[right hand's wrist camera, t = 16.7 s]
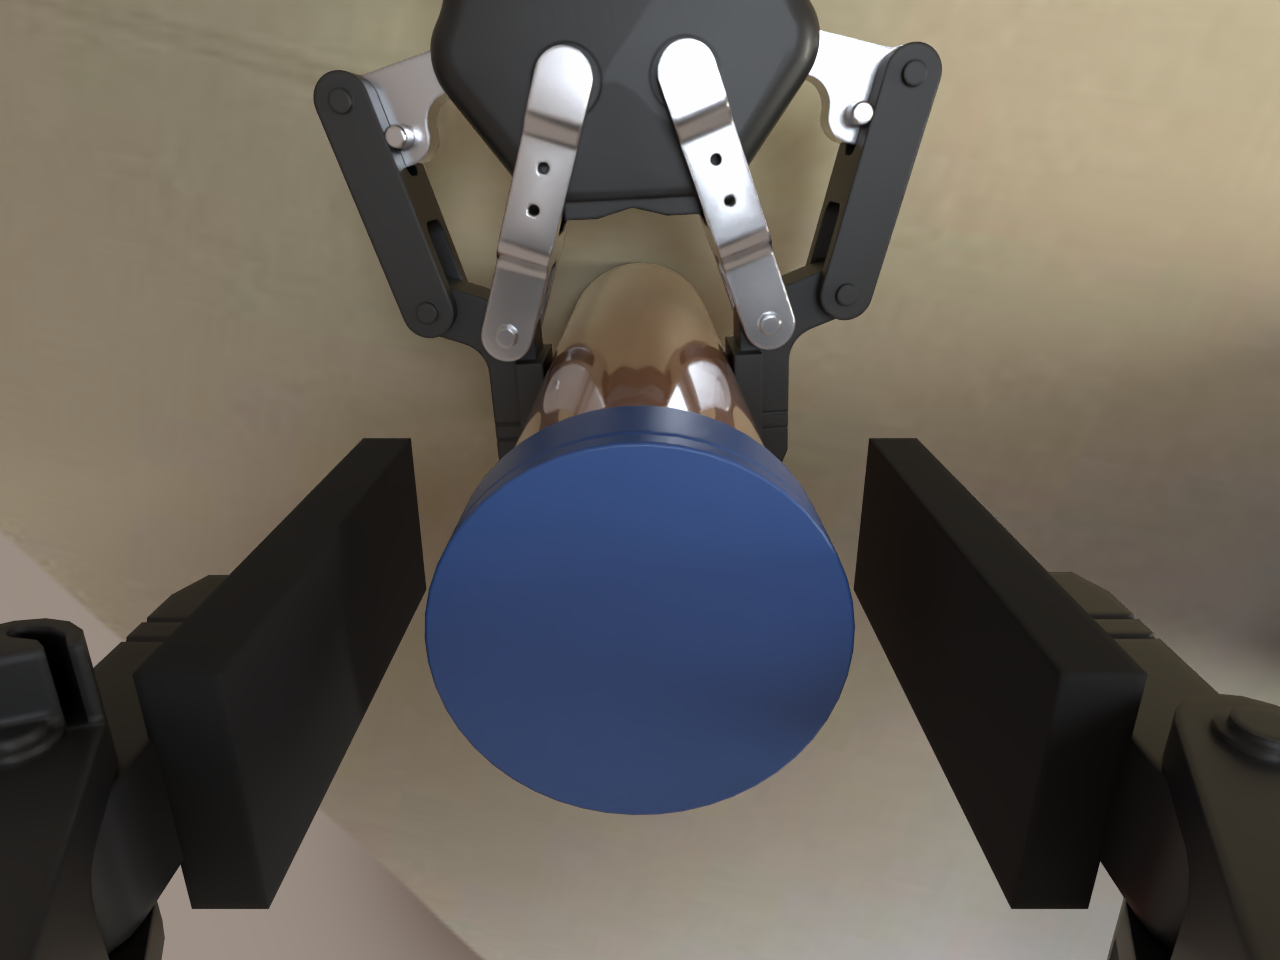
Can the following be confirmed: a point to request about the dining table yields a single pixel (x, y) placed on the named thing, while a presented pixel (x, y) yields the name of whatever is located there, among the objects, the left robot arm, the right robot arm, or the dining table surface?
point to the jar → (640, 353)
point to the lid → (639, 613)
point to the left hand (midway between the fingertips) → (645, 482)
